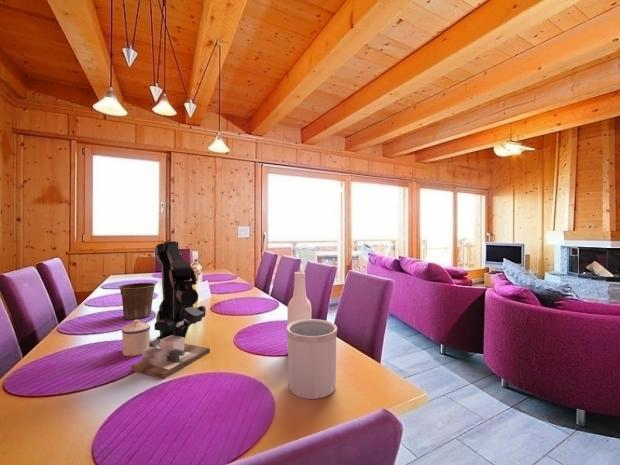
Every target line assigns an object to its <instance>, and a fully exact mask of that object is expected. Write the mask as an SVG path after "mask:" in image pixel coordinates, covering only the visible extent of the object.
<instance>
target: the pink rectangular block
mask: <svg viewBox="0 0 620 465" xmlns="http://www.w3.org/2000/svg"><path fill="white" fill-rule="evenodd" d="M184 343H185V339H184V337H180V336H174V335H170V336H168V337H166V338H163V339H159V349H164V350H167V356H169V352H170V351H172V350H174V351H179V355H180V356H183V355H184Z"/></svg>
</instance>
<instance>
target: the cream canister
mask: <svg viewBox="0 0 620 465" xmlns="http://www.w3.org/2000/svg"><path fill="white" fill-rule="evenodd" d="M150 329H151V325H150V324H149V323H146V322H142V321H140V319H133V322H131V323H130V324H128V325H126V326H124V327H123V328H122V330H121V333H122V335H121V336H122V355H123V356H126V357H135V356H136V355H137V356H140V354H141V355H142V351H143V350H145V349H148V348H150V347H151V346H150V344H151V342H150V339H151V337H150V336H151V335H150V331H151V330H150Z"/></svg>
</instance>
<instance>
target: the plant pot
mask: <svg viewBox="0 0 620 465" xmlns="http://www.w3.org/2000/svg"><path fill="white" fill-rule="evenodd" d="M155 286H156V283H154V282H135V283H134V282H133V283H127V284H126V283H125V284H121V285H119V286H118V288H119V289H120V295H121V300H122V313H123V314H122V315H123V318H124V319H125V318H126V320H136V319H139V318H140V319H144V318H143V317H145V318H147V317H146V316H148V317H150V316H152V307H153V298H154V297H153V296H154V292H155ZM149 315H150V316H149Z"/></svg>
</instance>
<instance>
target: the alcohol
mask: <svg viewBox="0 0 620 465" xmlns="http://www.w3.org/2000/svg"><path fill="white" fill-rule="evenodd" d="M293 282H294V284H293V293H292V297H291V298H290V300H289V302H288V304H287V322H286V323H287V326H288V325H289V324H290V323H292V322H295V321H298V320H304V319H312V304H311V301H310V300H309V298H308V297H307V292H306V291H307V288H306V272H304V271H295V272H294V281H293ZM287 326H286V327H287ZM286 335H287V334H286ZM287 336H288V335H287ZM286 343H287V345H286V346H287V347H286V348H287V349H286V352H287V353H288V337H287V341H286Z"/></svg>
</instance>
